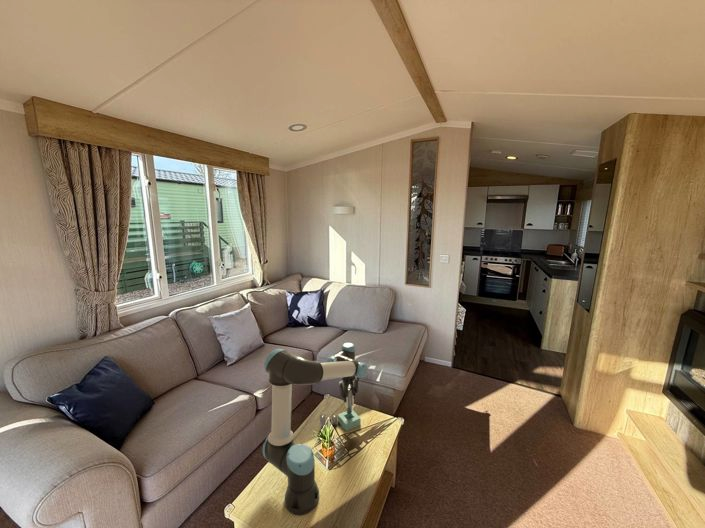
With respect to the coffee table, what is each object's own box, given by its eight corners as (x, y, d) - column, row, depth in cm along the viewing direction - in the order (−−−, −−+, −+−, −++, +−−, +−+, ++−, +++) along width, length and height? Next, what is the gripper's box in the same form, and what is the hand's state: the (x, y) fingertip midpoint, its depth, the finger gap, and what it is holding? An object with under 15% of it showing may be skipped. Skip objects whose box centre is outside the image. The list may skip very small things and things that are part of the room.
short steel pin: (333, 426, 179) (332, 418, 179) (330, 423, 182) (330, 415, 181) (337, 424, 181) (337, 416, 180) (335, 421, 184) (335, 413, 183)
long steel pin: (348, 414, 179) (347, 391, 176) (345, 411, 182) (345, 388, 179) (352, 412, 181) (352, 389, 178) (350, 409, 183) (349, 387, 180)
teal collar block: (345, 431, 175) (345, 424, 175) (337, 420, 184) (337, 414, 183) (360, 424, 180) (360, 418, 180) (352, 415, 189) (352, 408, 188)
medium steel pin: (321, 432, 175) (321, 418, 173) (319, 429, 177) (318, 415, 176) (326, 430, 176) (326, 416, 175) (324, 427, 179) (323, 413, 177)
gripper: (339, 376, 169) (340, 413, 173) (363, 368, 177) (364, 404, 181) (333, 370, 175) (334, 406, 179) (357, 362, 183) (357, 397, 187)
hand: (349, 405), depth 180 cm, fingers closed on long steel pin, 3 cm apart
